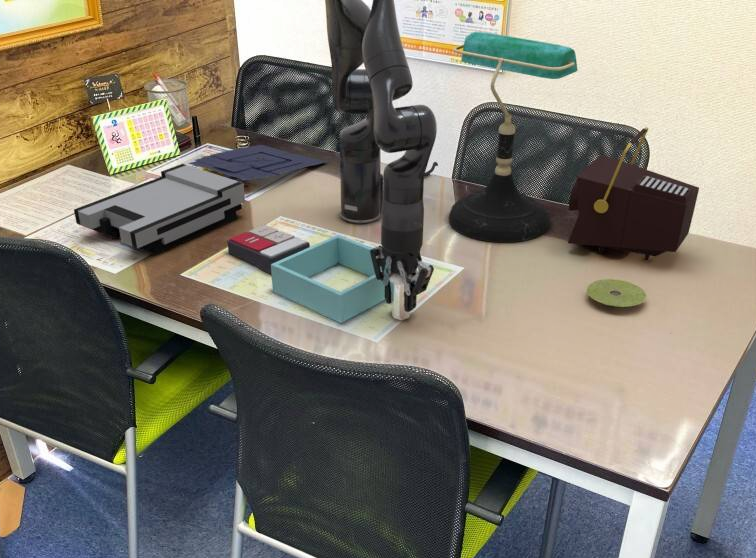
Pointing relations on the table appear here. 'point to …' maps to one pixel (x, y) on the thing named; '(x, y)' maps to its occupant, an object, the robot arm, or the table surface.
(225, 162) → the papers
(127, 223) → the game console
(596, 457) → the table surface
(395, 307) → the milkshake
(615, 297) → the green flat disc
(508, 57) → the banker's lamp
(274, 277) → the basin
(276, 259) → the red and gray box
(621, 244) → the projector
